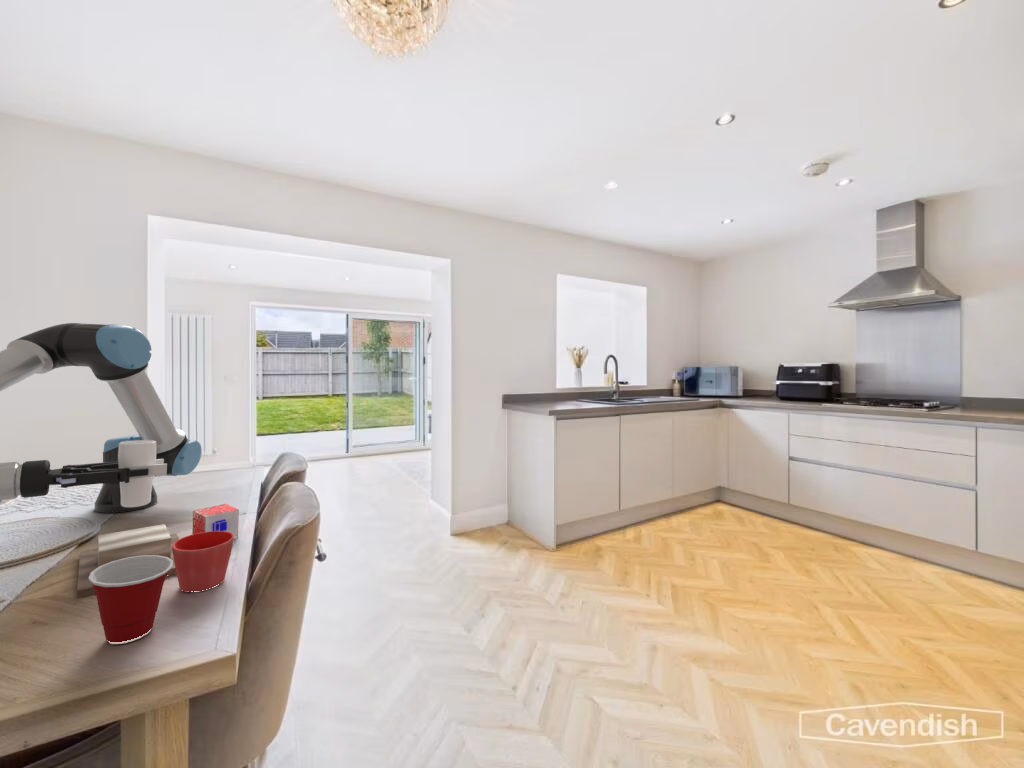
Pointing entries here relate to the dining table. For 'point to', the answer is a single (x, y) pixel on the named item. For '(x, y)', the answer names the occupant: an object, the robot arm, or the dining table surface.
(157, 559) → the plastic cup
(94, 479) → the robot arm
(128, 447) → the drinking glass
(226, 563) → the flower pot
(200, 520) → the red patterned cube
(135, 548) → the display stand
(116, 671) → the dining table surface
